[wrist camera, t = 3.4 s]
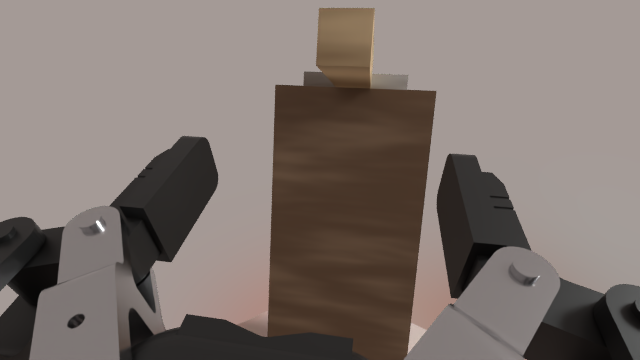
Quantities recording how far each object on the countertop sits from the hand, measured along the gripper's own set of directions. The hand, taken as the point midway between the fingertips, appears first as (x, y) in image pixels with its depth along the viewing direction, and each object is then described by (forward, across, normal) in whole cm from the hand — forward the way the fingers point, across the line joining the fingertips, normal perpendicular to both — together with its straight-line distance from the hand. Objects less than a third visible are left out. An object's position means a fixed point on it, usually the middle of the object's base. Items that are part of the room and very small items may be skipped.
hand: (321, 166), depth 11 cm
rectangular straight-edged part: (+15, 0, +4) cm, 16 cm away
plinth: (+5, 0, +35) cm, 35 cm away
